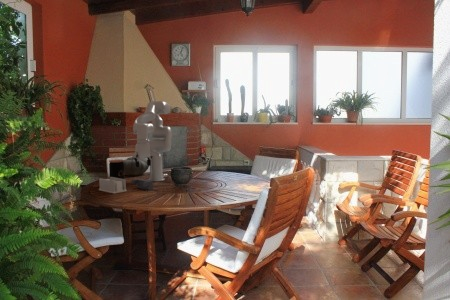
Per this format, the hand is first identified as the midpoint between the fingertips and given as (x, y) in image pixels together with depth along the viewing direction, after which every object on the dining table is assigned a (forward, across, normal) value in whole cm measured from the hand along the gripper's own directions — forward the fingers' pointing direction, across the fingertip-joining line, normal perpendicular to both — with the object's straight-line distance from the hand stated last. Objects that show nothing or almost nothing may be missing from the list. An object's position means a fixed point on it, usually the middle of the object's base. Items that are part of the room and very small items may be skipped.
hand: (143, 166), depth 282 cm
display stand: (+16, +18, -11) cm, 26 cm away
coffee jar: (+16, +3, -28) cm, 32 cm away
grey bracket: (+16, +1, 0) cm, 16 cm away
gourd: (+15, -33, -56) cm, 67 cm away
